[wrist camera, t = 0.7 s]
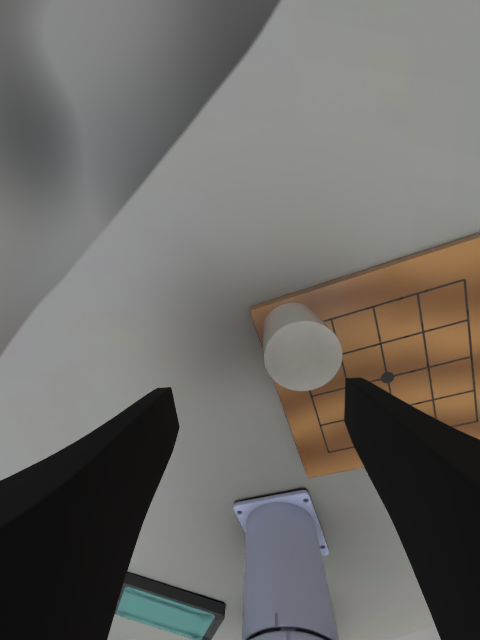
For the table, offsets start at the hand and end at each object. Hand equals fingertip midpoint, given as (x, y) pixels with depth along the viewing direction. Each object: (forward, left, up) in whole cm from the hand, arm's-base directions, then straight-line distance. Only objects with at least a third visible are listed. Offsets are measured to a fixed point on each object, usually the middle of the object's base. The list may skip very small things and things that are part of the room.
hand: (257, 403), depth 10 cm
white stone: (-1, -3, -9) cm, 9 cm away
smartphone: (-33, +23, -10) cm, 41 cm away
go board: (-7, -9, -10) cm, 15 cm away
